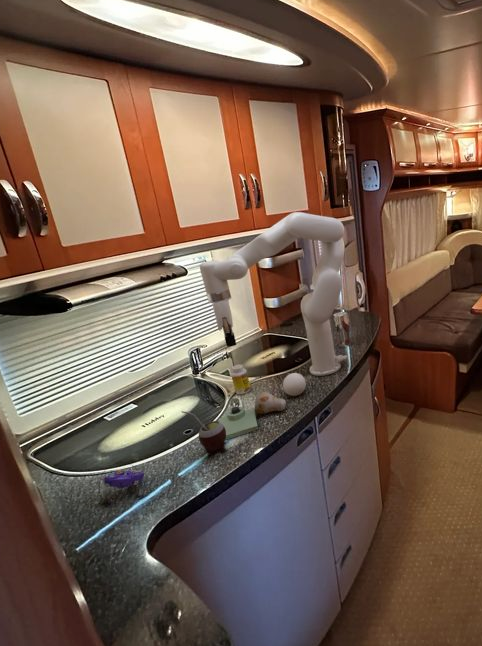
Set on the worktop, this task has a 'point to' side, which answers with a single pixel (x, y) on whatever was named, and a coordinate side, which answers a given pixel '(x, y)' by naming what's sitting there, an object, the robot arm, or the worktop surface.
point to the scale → (239, 422)
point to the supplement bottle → (240, 379)
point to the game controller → (122, 479)
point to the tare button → (235, 410)
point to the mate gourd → (211, 435)
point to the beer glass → (342, 328)
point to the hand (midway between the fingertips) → (231, 344)
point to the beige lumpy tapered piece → (268, 403)
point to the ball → (294, 384)
